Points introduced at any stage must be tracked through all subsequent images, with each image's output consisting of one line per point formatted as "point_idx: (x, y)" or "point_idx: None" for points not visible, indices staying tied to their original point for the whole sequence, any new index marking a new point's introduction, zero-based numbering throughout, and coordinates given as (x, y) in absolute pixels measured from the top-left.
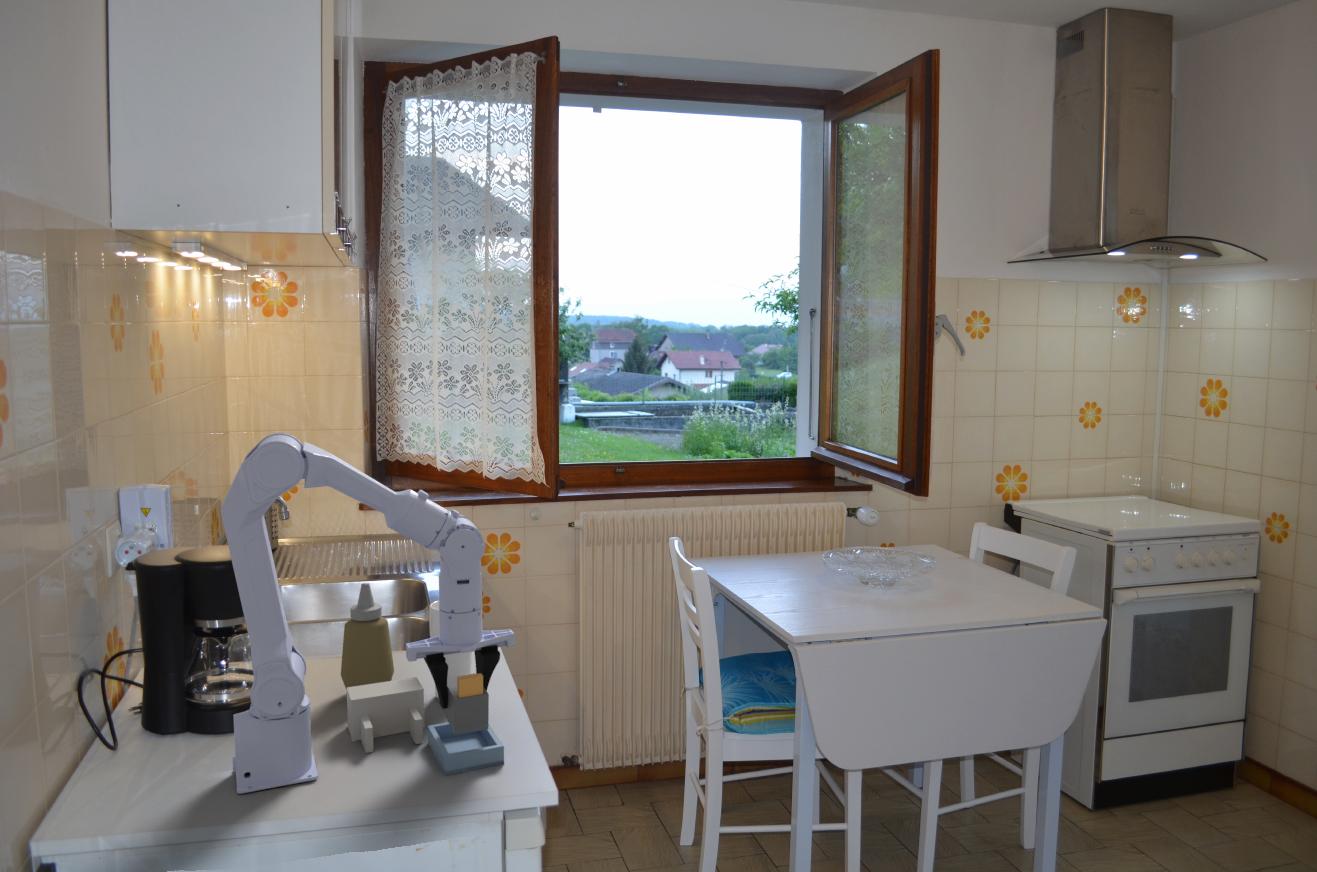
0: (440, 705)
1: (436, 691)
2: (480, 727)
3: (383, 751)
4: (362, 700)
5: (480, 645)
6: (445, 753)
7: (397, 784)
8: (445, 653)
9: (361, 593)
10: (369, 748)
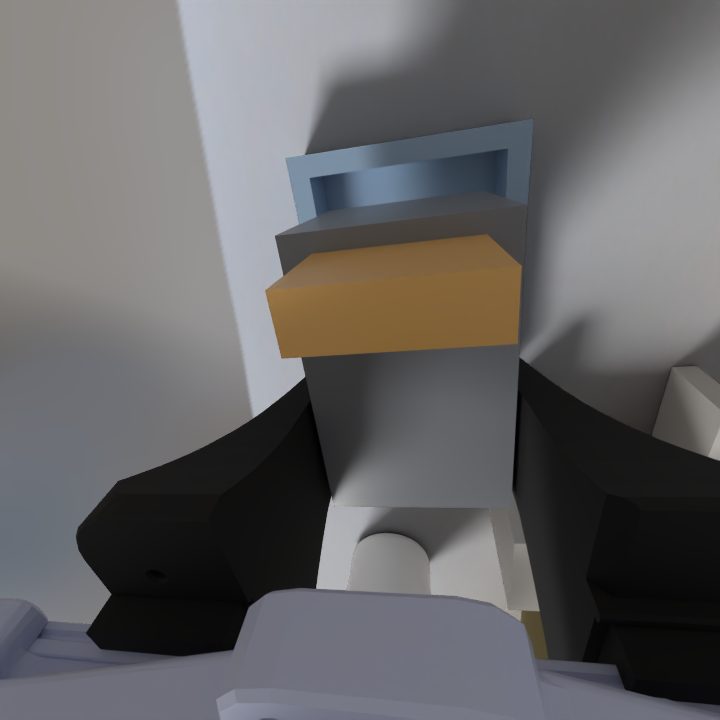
0: None
1: (428, 569)
2: (362, 207)
3: (642, 359)
4: None
5: (178, 685)
6: (520, 157)
7: (706, 95)
8: (585, 676)
9: None
10: (691, 373)
